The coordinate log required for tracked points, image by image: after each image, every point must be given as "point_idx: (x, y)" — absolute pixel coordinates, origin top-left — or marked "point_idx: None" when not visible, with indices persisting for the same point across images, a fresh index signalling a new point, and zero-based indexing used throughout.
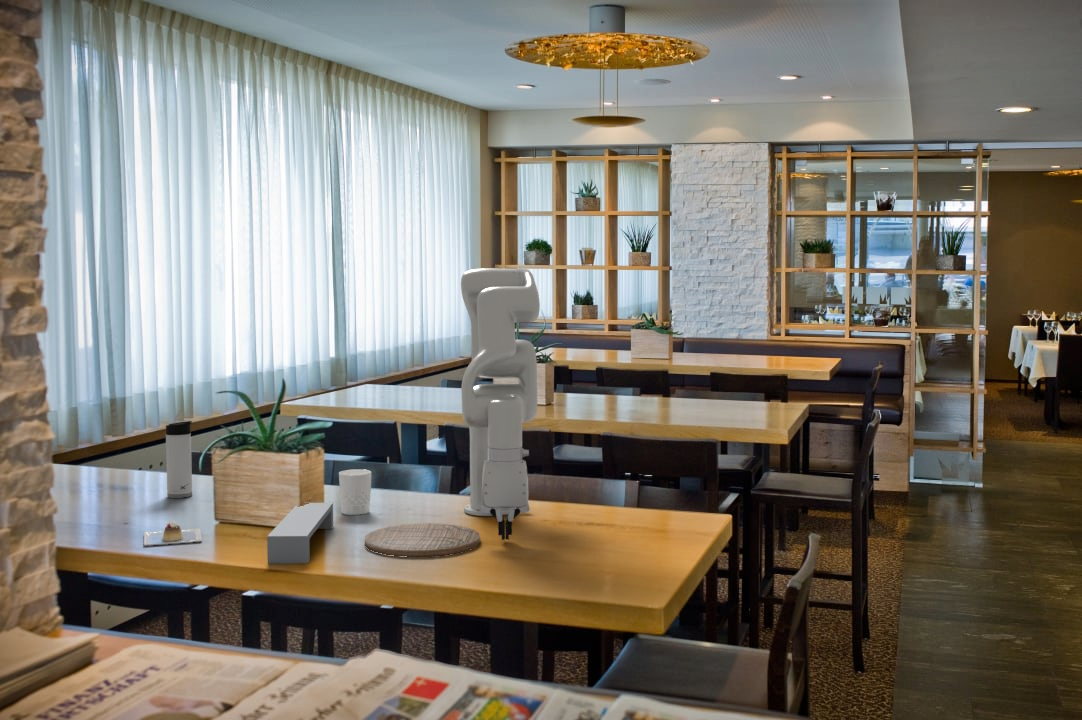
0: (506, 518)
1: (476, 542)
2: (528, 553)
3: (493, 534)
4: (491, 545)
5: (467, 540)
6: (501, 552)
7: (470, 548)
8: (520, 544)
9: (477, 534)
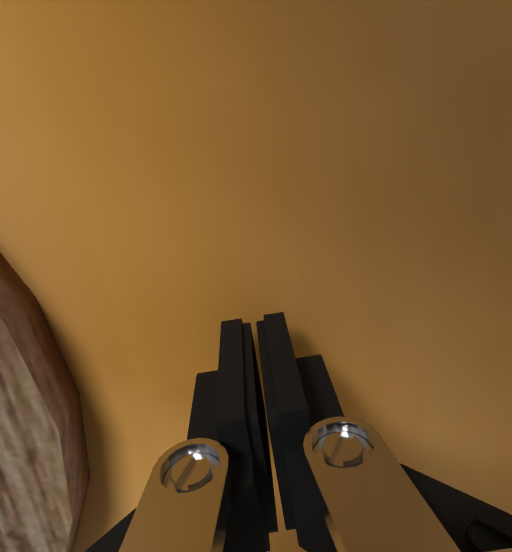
0: (298, 538)
1: (78, 504)
2: None
3: (90, 61)
4: (175, 424)
5: (10, 534)
6: (271, 547)
7: (72, 545)
8: (372, 374)
9: (9, 367)
